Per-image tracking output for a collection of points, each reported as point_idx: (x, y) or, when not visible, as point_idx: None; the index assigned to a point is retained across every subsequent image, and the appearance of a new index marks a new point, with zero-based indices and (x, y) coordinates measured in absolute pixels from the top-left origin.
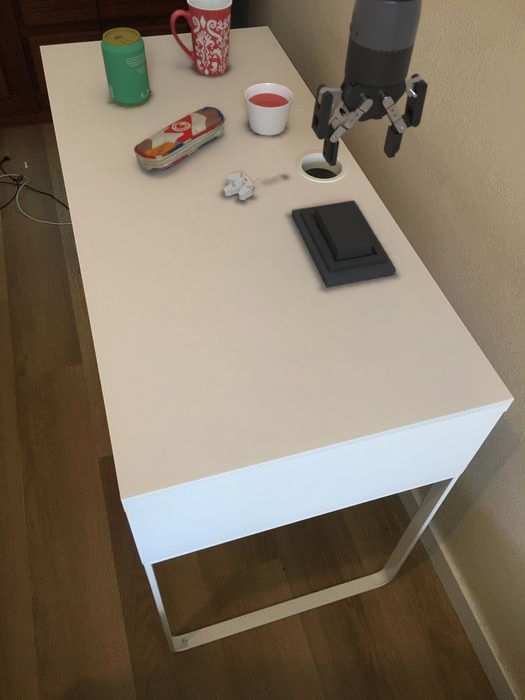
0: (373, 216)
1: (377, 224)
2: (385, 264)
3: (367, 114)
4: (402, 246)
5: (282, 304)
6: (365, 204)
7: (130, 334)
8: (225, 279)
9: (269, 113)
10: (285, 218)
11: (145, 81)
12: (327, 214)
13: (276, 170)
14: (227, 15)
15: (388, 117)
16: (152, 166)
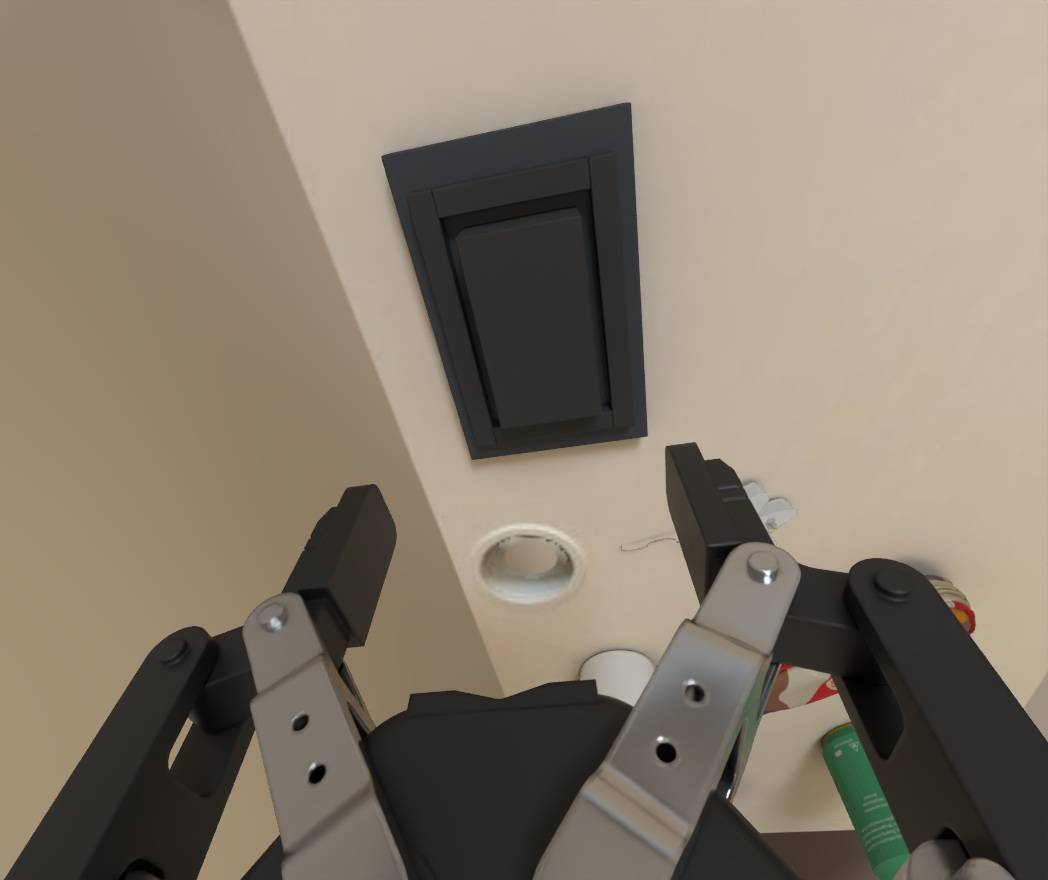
0: (425, 410)
1: (417, 381)
2: (415, 183)
3: (539, 742)
4: (353, 288)
5: (807, 15)
6: (441, 452)
7: None
8: (940, 172)
9: (635, 700)
10: (662, 418)
11: (852, 774)
12: (575, 388)
13: (634, 564)
14: None
15: (359, 697)
16: (945, 584)
